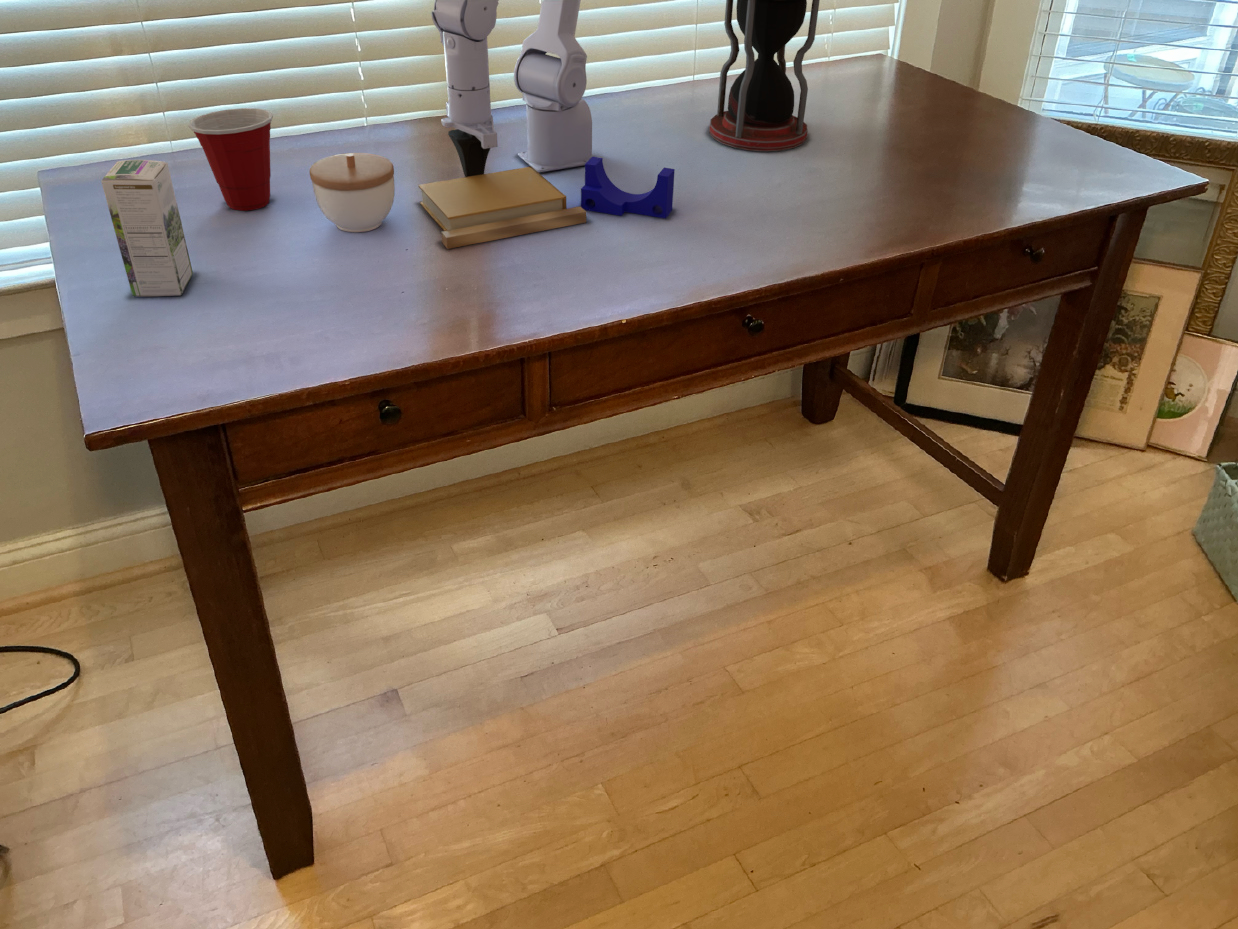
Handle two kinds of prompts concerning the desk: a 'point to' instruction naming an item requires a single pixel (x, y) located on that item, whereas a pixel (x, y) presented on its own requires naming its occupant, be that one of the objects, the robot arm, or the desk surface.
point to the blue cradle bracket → (625, 193)
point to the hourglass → (764, 77)
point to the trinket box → (354, 189)
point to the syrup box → (148, 227)
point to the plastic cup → (238, 154)
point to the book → (490, 198)
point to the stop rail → (513, 227)
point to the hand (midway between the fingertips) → (474, 181)
